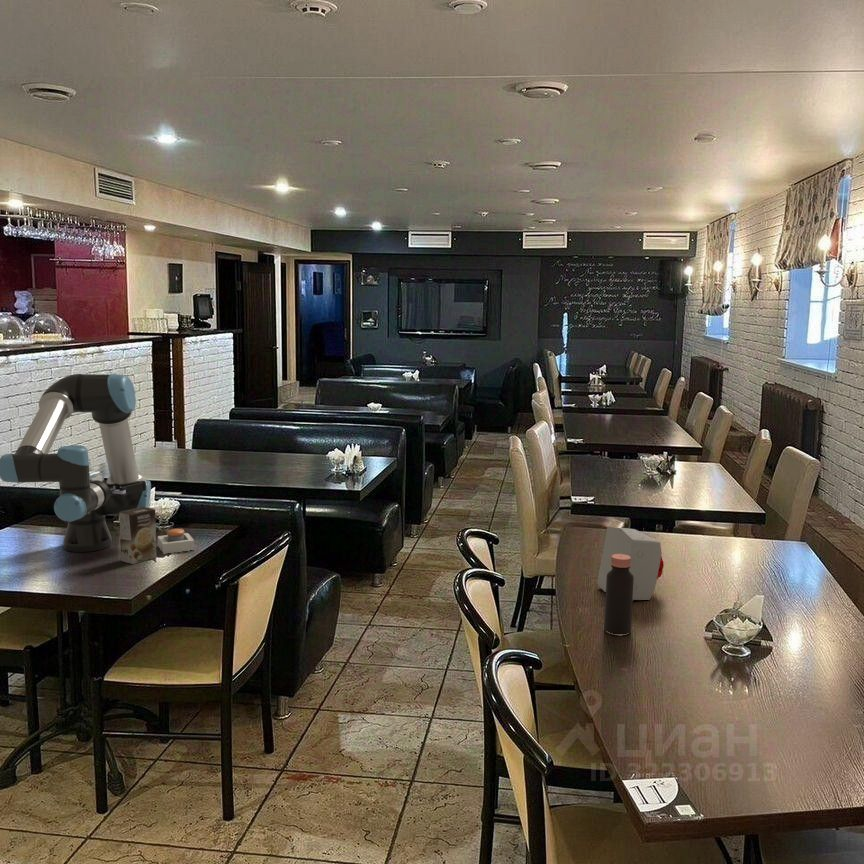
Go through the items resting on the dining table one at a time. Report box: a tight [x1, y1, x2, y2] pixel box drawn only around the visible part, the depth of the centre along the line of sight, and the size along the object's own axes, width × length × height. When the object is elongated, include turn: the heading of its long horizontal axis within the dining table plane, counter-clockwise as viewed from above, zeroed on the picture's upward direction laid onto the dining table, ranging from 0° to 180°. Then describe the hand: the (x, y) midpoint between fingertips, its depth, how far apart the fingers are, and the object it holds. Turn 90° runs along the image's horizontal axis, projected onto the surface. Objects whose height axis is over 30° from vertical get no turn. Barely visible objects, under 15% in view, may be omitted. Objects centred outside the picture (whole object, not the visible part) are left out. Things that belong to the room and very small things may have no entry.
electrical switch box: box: [596, 526, 664, 601], centre depth 249 cm, size 15×15×20 cm
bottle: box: [603, 554, 634, 634], centre depth 219 cm, size 7×7×20 cm
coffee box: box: [119, 507, 157, 565], centre depth 273 cm, size 9×6×16 cm
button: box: [166, 528, 185, 542], centre depth 286 cm, size 6×6×5 cm
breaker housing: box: [157, 532, 195, 555], centre depth 286 cm, size 10×10×4 cm
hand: (122, 479), depth 260 cm, fingers open, 13 cm apart
